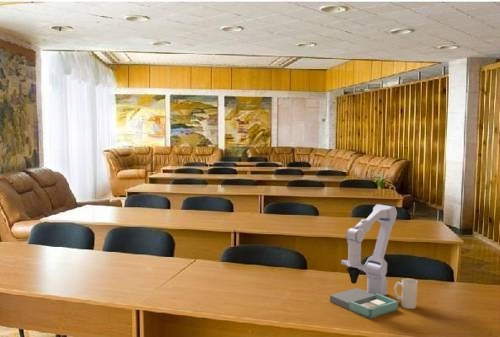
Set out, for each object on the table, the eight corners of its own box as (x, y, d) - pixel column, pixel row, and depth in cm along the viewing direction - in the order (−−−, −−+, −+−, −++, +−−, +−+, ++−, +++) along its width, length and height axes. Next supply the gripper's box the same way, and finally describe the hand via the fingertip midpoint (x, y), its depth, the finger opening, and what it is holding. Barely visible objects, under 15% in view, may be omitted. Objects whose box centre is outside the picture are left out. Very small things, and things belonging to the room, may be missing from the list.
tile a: (385, 302, 213) (385, 306, 213) (377, 299, 217) (377, 303, 217) (378, 304, 210) (378, 309, 210) (369, 301, 214) (369, 305, 215)
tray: (376, 301, 222) (376, 293, 221) (397, 310, 212) (398, 301, 211) (349, 309, 212) (349, 301, 211) (370, 319, 202) (370, 309, 201)
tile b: (375, 305, 209) (375, 310, 209) (367, 302, 213) (367, 306, 213) (367, 308, 206) (367, 312, 206) (359, 304, 210) (359, 309, 211)
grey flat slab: (356, 293, 232) (357, 288, 232) (375, 301, 222) (376, 295, 222) (329, 301, 222) (330, 295, 222) (348, 309, 212) (348, 303, 212)
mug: (416, 304, 218) (417, 279, 217) (416, 309, 212) (417, 283, 211) (393, 301, 222) (394, 276, 221) (393, 307, 215) (394, 281, 214)
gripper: (336, 252, 222) (336, 280, 224) (360, 259, 210) (360, 289, 212) (347, 249, 226) (346, 277, 228) (371, 256, 215) (370, 285, 216)
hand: (353, 282), depth 220 cm, fingers closed
